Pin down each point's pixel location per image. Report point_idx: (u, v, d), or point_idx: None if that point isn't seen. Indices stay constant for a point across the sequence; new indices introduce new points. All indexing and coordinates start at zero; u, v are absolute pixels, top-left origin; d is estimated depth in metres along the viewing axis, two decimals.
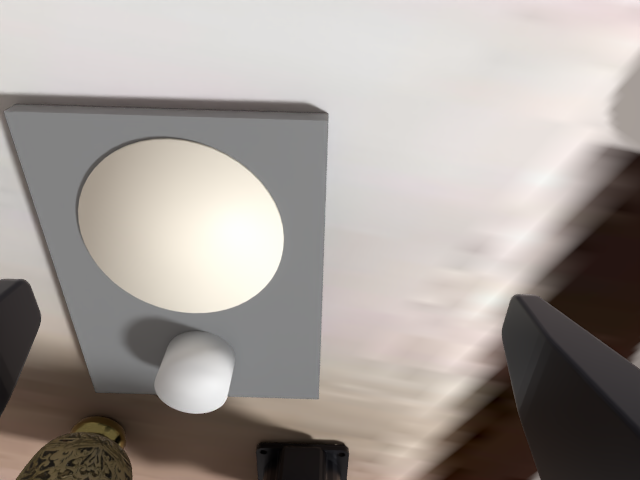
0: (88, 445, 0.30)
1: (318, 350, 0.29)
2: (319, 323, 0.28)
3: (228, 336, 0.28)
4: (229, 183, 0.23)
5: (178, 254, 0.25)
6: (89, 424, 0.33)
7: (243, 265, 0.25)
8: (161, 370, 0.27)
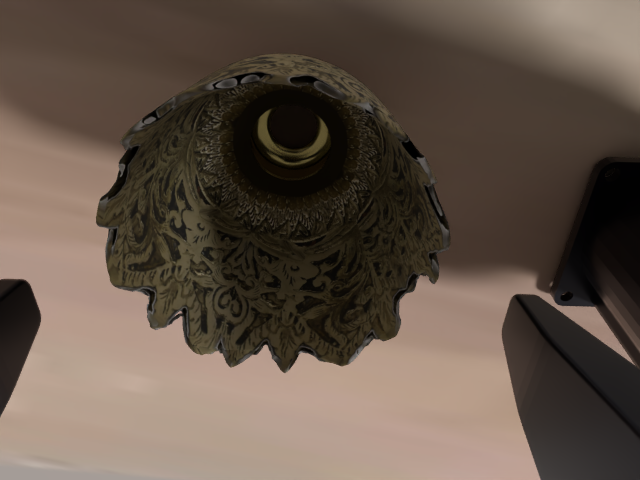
0: None
1: None
2: None
3: None
4: None
5: None
6: None
7: None
8: None
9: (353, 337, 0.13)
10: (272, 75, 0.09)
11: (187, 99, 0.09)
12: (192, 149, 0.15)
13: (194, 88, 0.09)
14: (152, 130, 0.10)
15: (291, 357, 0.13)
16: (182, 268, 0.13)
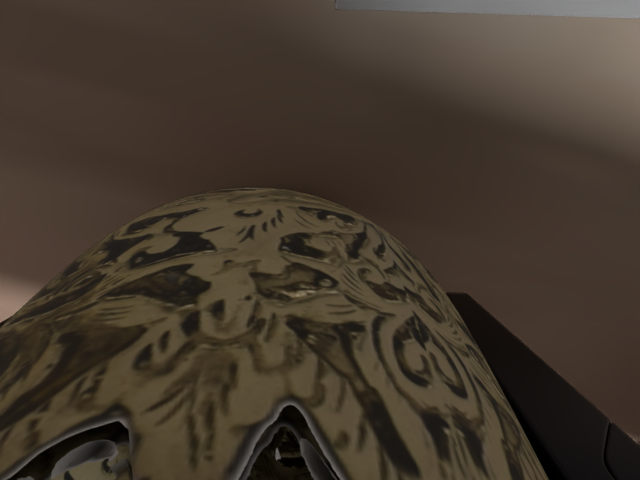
0: (333, 208, 0.06)
1: None
2: None
3: None
4: None
5: None
6: None
7: None
8: None
9: None
10: None
11: None
12: None
13: None
14: None
15: None
16: None
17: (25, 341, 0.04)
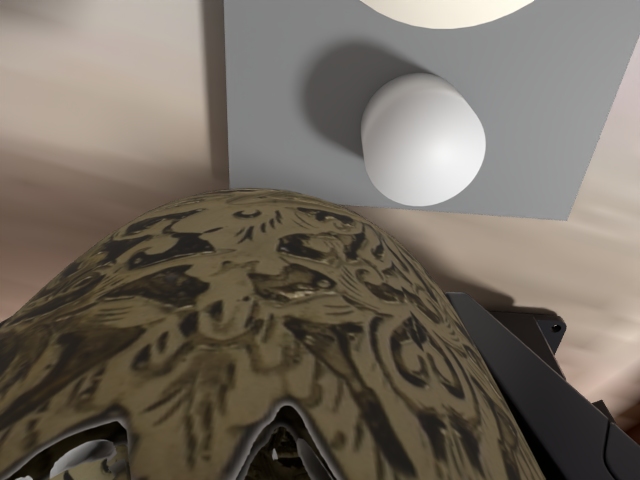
0: (331, 209, 0.06)
1: (602, 122, 0.18)
2: (625, 63, 0.17)
3: (470, 85, 0.18)
4: None
5: None
6: None
7: None
8: (386, 109, 0.16)
9: None
10: None
11: None
12: None
13: None
14: None
15: None
16: None
17: (24, 342, 0.04)
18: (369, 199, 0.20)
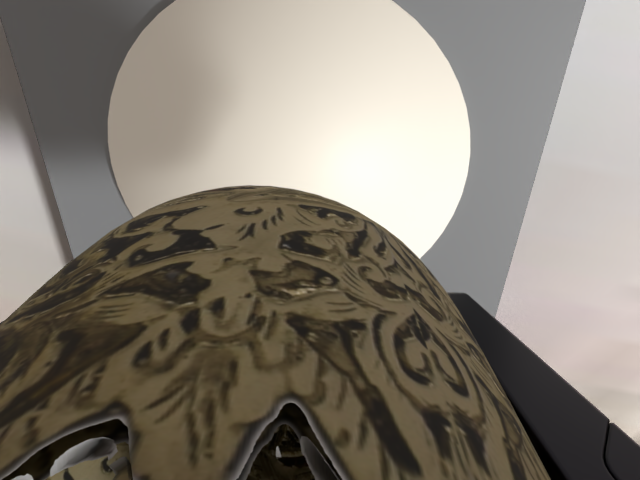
0: (333, 206, 0.06)
1: None
2: None
3: None
4: (391, 63, 0.12)
5: None
6: None
7: (387, 223, 0.15)
8: None
9: None
10: None
11: None
12: None
13: None
14: None
15: None
16: None
17: (24, 339, 0.04)
18: None
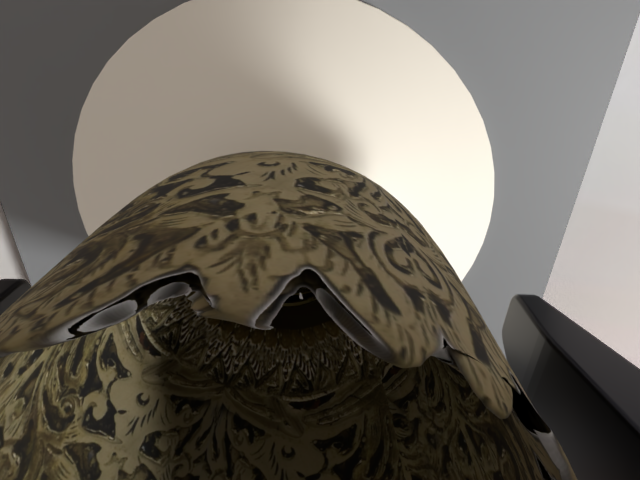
0: (337, 166, 0.08)
1: None
2: None
3: None
4: (403, 96, 0.10)
5: None
6: None
7: None
8: None
9: None
10: (214, 307, 0.04)
11: None
12: None
13: (20, 344, 0.04)
14: None
15: None
16: None
17: (106, 243, 0.05)
18: None
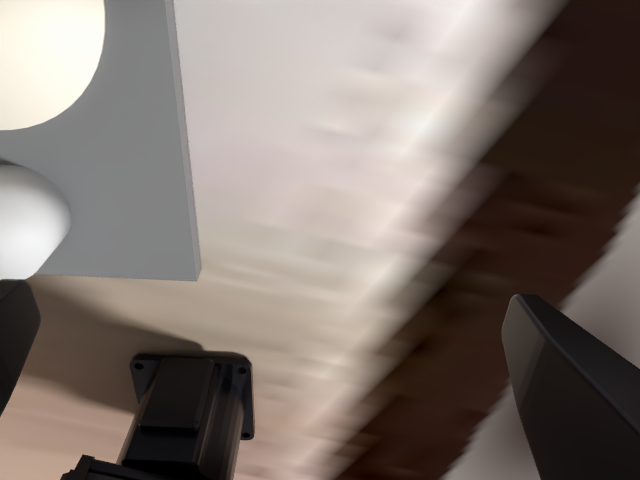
0: None
1: (185, 200, 0.21)
2: (179, 152, 0.20)
3: (55, 173, 0.20)
4: None
5: None
6: None
7: (50, 41, 0.17)
8: None
9: None
10: None
11: None
12: None
13: None
14: None
15: None
16: None
17: None
18: None
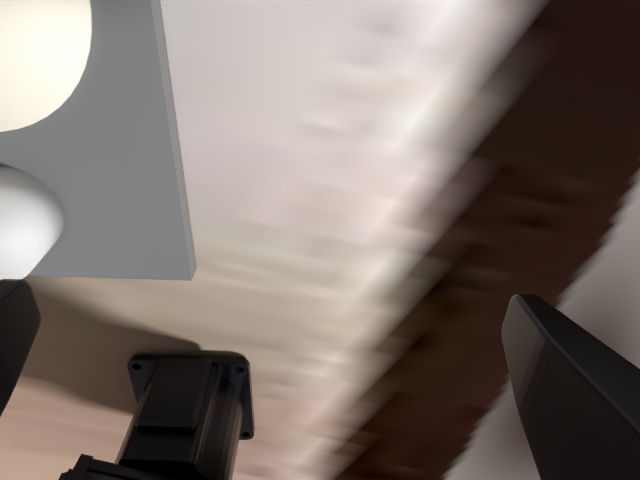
0: None
1: (177, 198, 0.21)
2: (170, 151, 0.20)
3: (47, 174, 0.20)
4: None
5: None
6: None
7: (37, 42, 0.17)
8: None
9: None
10: None
11: None
12: None
13: None
14: None
15: None
16: None
17: None
18: None
